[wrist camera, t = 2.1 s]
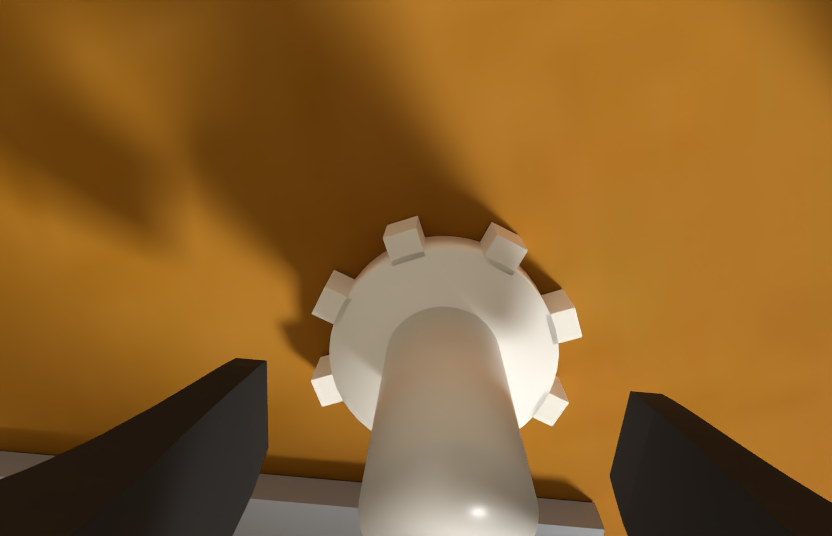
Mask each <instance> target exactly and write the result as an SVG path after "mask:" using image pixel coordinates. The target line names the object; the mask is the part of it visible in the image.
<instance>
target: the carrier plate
mask: <svg viewBox="0 0 832 536" xmlns="http://www.w3.org/2000/svg"><path fill="white" fill-rule="evenodd" d="M53 457H55V456H52V455H40V454H29V453H17V452H6V451H0V479H2V478H4V477H7V476H10V475H12V474H15V473H18V472H20V471H23V470H25V469H28V468H30V467H32V466H35V465H37V464H39V463H42V462H44V461H46V460H48V459H51V458H53ZM361 486H362V482H350V481H339V480H327V479H316V478H304V477H293V476H281V475H270V474H259V477H258V480H257V483H256V485H255V488H254V491H253V494H252V496H251V498H250V500H249V502H248V505H247V507H246V509H245V511H244V513H243V515H242V517H241V519H240V521H239V523H238V526H237V528H236V530H235V532H234V534H233V536H362V533H361V530H360V527H359V522H358V503H359V497H360V492H361ZM537 502H538V507H539V521H538V527H537V531H536V534H535V536H603V535H604V531H605V529H604V526H603V524H602V521H601V519H600V516H599V513H598V511H597V508H596V505H595V503H591V502H580V501H568V500H557V499H545V498H537Z"/></svg>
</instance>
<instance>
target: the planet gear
mask: <svg viewBox="0 0 832 536" xmlns="http://www.w3.org/2000/svg"><path fill="white" fill-rule="evenodd" d="M383 241H384V244H385V246H386V249H387V251H385V252H383V253H382V254H381V255H379V256H378V257H376V258H375V259H374V260H372V261H371V262H370V263H369V264H368V265H367V266H366V267H365V268H364V269H363V270H362V271H361V272H360V273H359V275H358V276H357V277H356V278H355V279H353V278H350V277H348V276H346V275H344V274H342V273H340V272H338V271H336V270H334V271H333V272H332V274H331V276H330V278H329V280H328V281H327V283H326V285H325V287H324V289H323V291H322V293H321V295H320V297H319V299H318V301H317V304H316V306H315V308H314V310H313V312H312V314H313V315H315V316H317V317H319V318H321V319H323V320H325V321H327V322H330V323H332V324H333V328H332V332H331V337H330V347H329V355H326V356H323V357H320V359H319V362H318V364H317V366H316V369H315V371H314V374H313V376H312V378H311V382H312V385H313V387H314V389H315V391H316V394H317V396H318V398H319V401H320V403H321V405H322V407H323V406H326V405H330V404H334V403H338V402H341V401H344V403H345V404H346V405H347V407H348V408H349V410H350V411H351V412H352V413H353V414H354V416H355V417H356V418H357V419H358V420H359V421H360V422H361V423H362V424H364V425H365V426H366V427H367V428H368V429H369V430H371V431H372V432H371V437H370V443H369V448H368V454H367V459H366V464H365V470H364V475H363V481H362V486H361V492H360V497H359V503H358V522H359V527H360V530H361V533H362V536H535V534H536V531H537V527H538V521H539V507H538V502H537V498H536V494H535V490H534V485H533V481H532V477H531V473H530V469H529V465H528V461H527V457H526V453H525V449H524V445H523V441H522V437H521V433H520V428H521V427H523V426H524V425H525V424H526V423H527V422H528V421H529V420H530V419H531V418H532V417H533V418H535V419H537V420H539V421H541V422H544V423H546V424H548V425H550V426H553V424H554V423H555V422H556V420H557V419H558V417H559V416H560V415H561V413H562V412H563V410H564V409H565V408H566V406H567V405H568V403H569V401H568V399H567V397H566V394H565V392H564V390H563V387H562V385H561V382H560V380H559V378H558V377H556V376H555V375H556V372H557V366H558V357H559V351H558V343H562V342H565V341H569V340H573V339H577V338H580V337H582V334H581V330H580V326H579V322H578V318H577V314H576V310H575V307H574V305H573V304H572V302H571V301H570V299H569V297H568V296H567V294H566V293H565V291H564V290H563V289H561V290H557V291H554V292H550V293H547V294H543V295H540V293H539V291H538V289H537V287H536V285H535V284H534V282H533V281H532V279H531V278H530V277H529V275H528V274H527V273H526V272H525V271H524V270H523V269H522V268H521V267H520V265H519V264H520V263H521V261H522V259H523V258H524V256H525V254H526V253H527V251H528V250H527V248H526V246H525V244H524V243H523V241H522V239H521V237H520V236H519V235H517V234H515V233H513V232H511V231H509V230H507V229H505V228H503V227H501V226H499V225H497V224H495V223H493V222H491V224H490V225H489V227H488V229H487V231H486V232H485V234H484V236H483V238H482V239H481V241H480V242H479V241H475V240H472V239H468V238H462V237H455V236H432V237H425V236H424V233H423V230H422V227H421V224H420V221H419V218H418V216H415V217H411V218H408V219H405V220H402V221H399V222H395V223H392V224H389V225H387V227H386V230H385V233H384V236H383Z"/></svg>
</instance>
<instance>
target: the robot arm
mask: <svg viewBox="0 0 832 536" xmlns="http://www.w3.org/2000/svg"><path fill="white" fill-rule="evenodd" d="M267 449H268V406H267V361H265V360H253V359H241V358H235V359H233V360H231V361H229V362H227V363H226V364H224V365H222V366H220V367H219V368H217V369H215V370H214V371H212V372H210V373H209V374H207V375H205V376H204V377H202V378H200V379H199V380H197V381H196V382H194V383H192V384H191V385H189V386H187V387H186V388H184V389H182V390H181V391H179V392H177V393H176V394H174V395H172V396H170V397H169V398H167V399H165V400H164V401H162V402H160V403H159V404H157V405H155V406H154V407H152V408H150V409H148V410H146V411H144V412H142V413H141V414H139V415H137V416H135V417H133V418H131V419H130V420H128V421H126V422H124V423H122V424H120V425H118V426H117V427H115V428H113V429H111V430H109V431H107V432H106V433H104V434H102V435H100V436H98V437H96V438H94V439H92V440H90V441H88V442H86V443H83V444H81V445H79V446H77V447H75V448H73V449H71V450H69V451H66V452H64V453H62V454H60V455H57V456H55V457H53V458H51V459H48V460H46V461H44V462H42V463H39V464H37V465H35V466H32V467H30V468H28V469H25V470H23V471H20V472H18V473H15V474H12V475H10V476H7V477H4V478H2V479H0V536H233V534H234V532H235V530H236V528H237V526H238V523H239V521H240V519H241V517H242V515H243V513H244V511H245V509H246V507H247V505H248V502H249V500H250V498H251V496H252V494H253V491H254V488H255V485H256V483H257V480H258V477H259V474H260V471H261V468H262V465H263V462H264V459H265V456H266V452H267ZM610 479H611V483H612V486H613V490H614V494H615V498H616V501H617V505H618V508H619V511H620V515H621V518H622V521H623V525H624V527H625V530H626V532H627V534H628V536H832V503H831V502H830V501H828V500H826V499H825V498H823V497H821V496H820V495H818V494H816V493H815V492H813V491H811V490H810V489H808V488H807V487H805V486H803V485H802V484H800V483H798V482H797V481H795V480H794V479H792V478H790V477H789V476H787V475H786V474H784V473H782V472H781V471H779V470H778V469H776V468H775V467H773V466H772V465H770V464H768V463H767V462H765V461H764V460H762V459H761V458H759V457H758V456H756V455H755V454H753V453H752V452H750V451H749V450H747V449H746V448H744V447H743V446H741V445H740V444H738V443H737V442H735V441H734V440H732V439H731V438H729V437H728V436H727V435H725V434H724V433H722V432H721V431H719V430H718V429H716V428H715V427H713V426H712V425H710V424H709V423H707V422H706V421H704V420H703V419H701V418H700V417H698V416H697V415H695V414H694V413H692V412H691V411H689V410H688V409H686V408H685V407H683V406H682V405H680V404H678V403H677V402H675V401H673V400H672V399H670V398H668V397H666V396H664V395H663V394H656V393H644V392H632V391H630V395H629V399H628V403H627V408H626V412H625V416H624V420H623V424H622V428H621V432H620V436H619V440H618V444H617V448H616V452H615V456H614V460H613V464H612V468H611V473H610Z"/></svg>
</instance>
